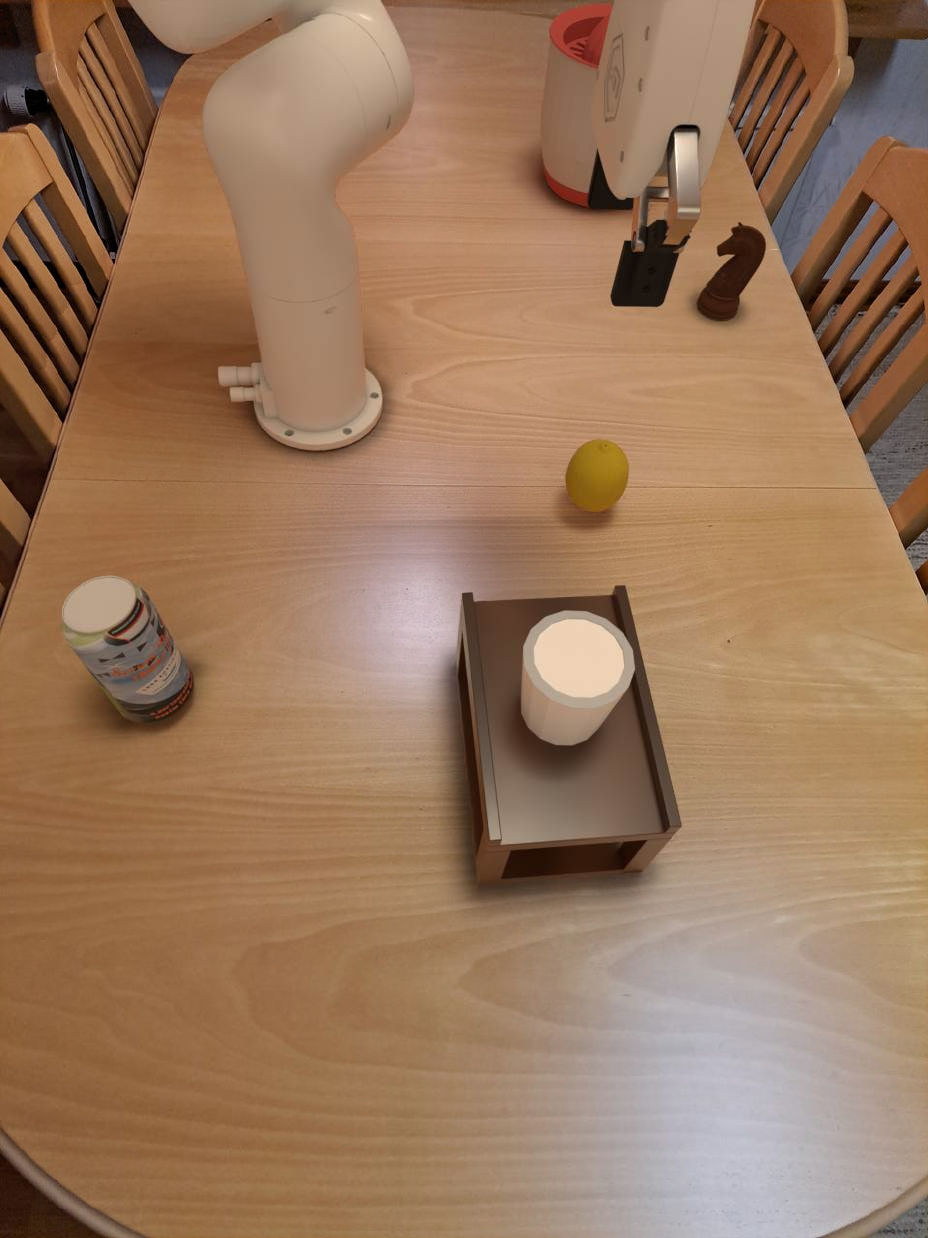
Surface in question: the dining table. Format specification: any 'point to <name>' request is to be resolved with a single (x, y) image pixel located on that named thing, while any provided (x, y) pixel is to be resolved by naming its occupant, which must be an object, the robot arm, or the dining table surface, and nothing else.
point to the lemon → (597, 475)
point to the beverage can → (127, 648)
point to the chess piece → (732, 273)
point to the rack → (556, 757)
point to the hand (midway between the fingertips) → (622, 253)
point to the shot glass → (573, 675)
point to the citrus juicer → (572, 99)
